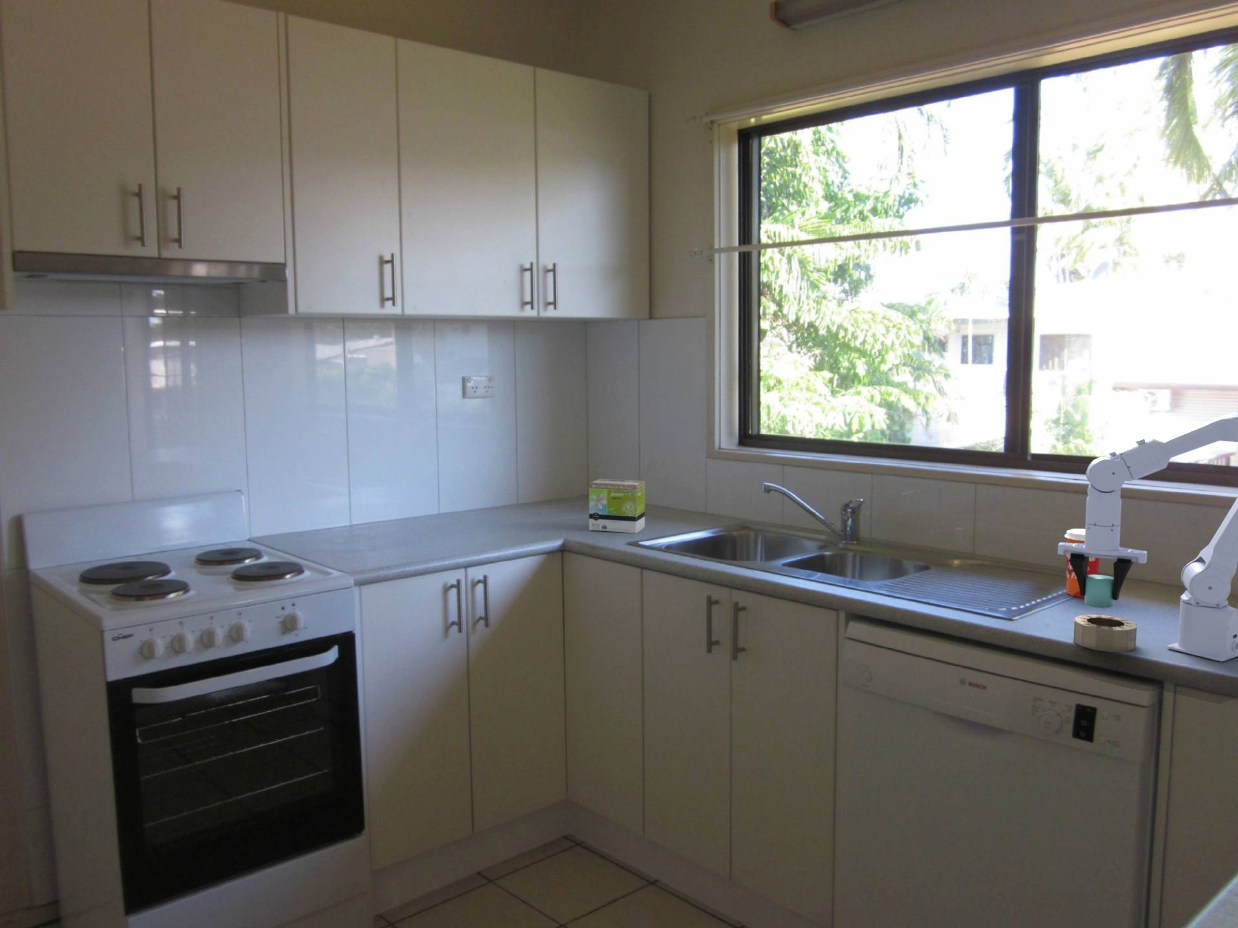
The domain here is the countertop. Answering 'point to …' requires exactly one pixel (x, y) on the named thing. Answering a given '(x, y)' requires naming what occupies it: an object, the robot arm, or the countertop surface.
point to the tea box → (617, 505)
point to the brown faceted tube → (1105, 633)
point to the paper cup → (1072, 582)
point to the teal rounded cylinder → (1099, 591)
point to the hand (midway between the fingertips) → (1099, 596)
